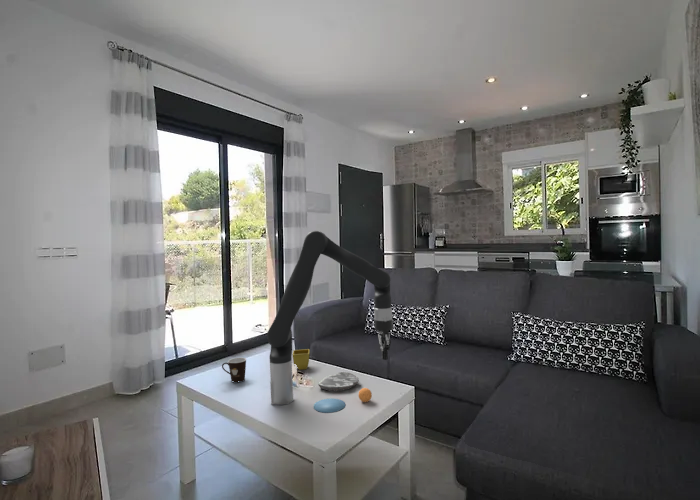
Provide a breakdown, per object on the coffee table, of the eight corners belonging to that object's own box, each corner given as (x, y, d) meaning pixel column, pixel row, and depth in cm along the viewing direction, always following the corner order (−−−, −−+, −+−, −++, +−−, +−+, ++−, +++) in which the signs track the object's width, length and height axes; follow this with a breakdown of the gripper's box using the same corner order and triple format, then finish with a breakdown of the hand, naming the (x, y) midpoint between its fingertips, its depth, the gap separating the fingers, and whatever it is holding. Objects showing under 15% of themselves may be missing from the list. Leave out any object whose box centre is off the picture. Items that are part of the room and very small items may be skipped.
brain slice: (343, 397, 164) (343, 390, 164) (312, 390, 174) (312, 383, 173) (367, 382, 180) (366, 376, 180) (337, 376, 190) (337, 370, 190)
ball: (360, 405, 155) (359, 391, 155) (357, 399, 160) (357, 386, 160) (373, 403, 156) (372, 390, 156) (370, 398, 161) (369, 385, 161)
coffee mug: (250, 378, 190) (249, 358, 190) (237, 384, 183) (236, 364, 183) (234, 375, 196) (234, 355, 196) (221, 380, 189) (220, 360, 189)
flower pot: (294, 366, 207) (293, 349, 207) (310, 365, 208) (309, 348, 208) (293, 371, 198) (292, 354, 198) (309, 370, 199) (309, 353, 199)
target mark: (314, 414, 148) (314, 413, 148) (312, 400, 161) (312, 400, 161) (347, 410, 150) (347, 410, 150) (342, 397, 163) (342, 397, 163)
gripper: (371, 315, 165) (372, 355, 165) (378, 322, 152) (380, 365, 152) (387, 314, 166) (389, 354, 166) (396, 320, 153) (398, 363, 153)
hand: (384, 359), depth 159 cm, fingers closed
